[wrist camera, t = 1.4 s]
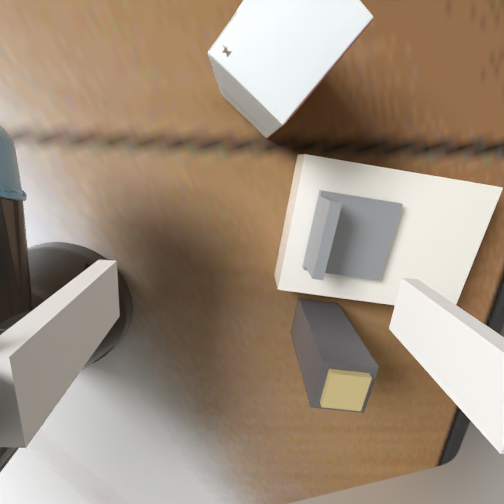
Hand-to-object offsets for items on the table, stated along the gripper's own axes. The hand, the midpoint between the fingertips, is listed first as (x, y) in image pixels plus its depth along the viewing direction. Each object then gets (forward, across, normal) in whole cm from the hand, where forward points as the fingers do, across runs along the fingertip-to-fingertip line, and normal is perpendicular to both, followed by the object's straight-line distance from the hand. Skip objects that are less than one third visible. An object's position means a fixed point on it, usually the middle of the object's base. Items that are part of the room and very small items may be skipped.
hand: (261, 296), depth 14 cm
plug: (+21, +10, -13) cm, 26 cm away
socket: (+20, +14, -1) cm, 25 cm away
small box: (+21, +1, +13) cm, 25 cm away
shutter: (+16, +10, -1) cm, 19 cm away
